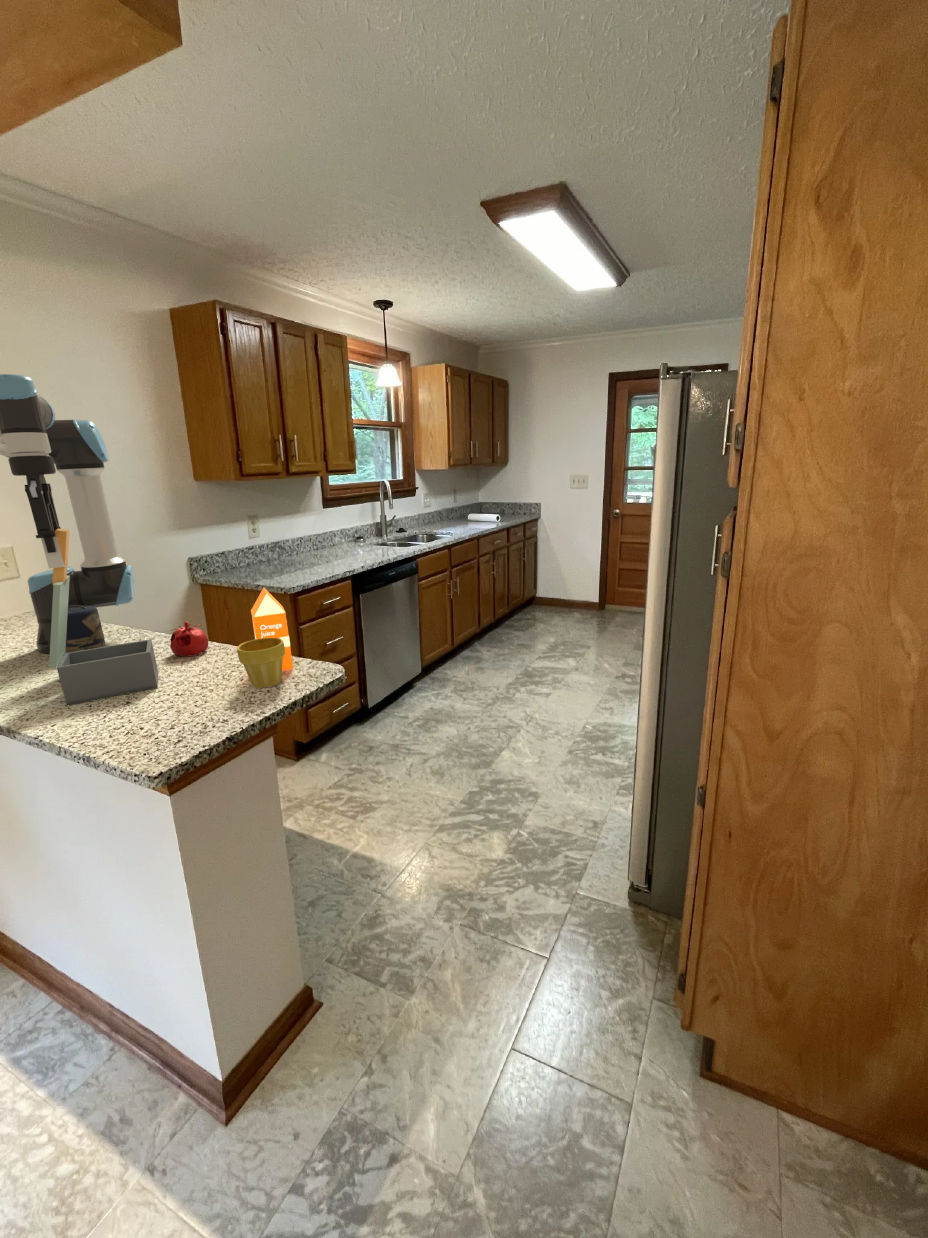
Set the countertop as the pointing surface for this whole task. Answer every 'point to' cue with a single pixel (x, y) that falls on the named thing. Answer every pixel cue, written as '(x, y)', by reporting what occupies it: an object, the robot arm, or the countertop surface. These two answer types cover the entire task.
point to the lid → (59, 602)
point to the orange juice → (271, 623)
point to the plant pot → (263, 660)
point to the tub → (108, 671)
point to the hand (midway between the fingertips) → (58, 565)
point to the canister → (83, 629)
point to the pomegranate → (188, 641)
